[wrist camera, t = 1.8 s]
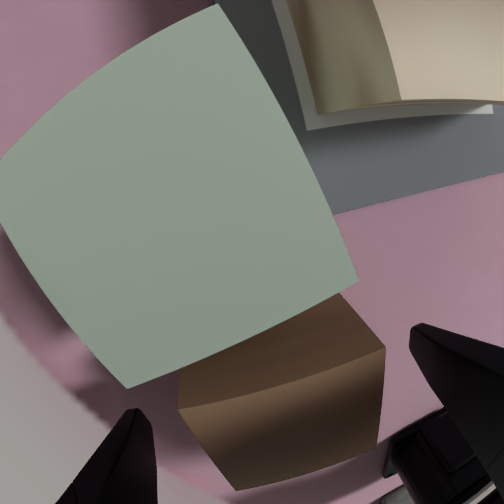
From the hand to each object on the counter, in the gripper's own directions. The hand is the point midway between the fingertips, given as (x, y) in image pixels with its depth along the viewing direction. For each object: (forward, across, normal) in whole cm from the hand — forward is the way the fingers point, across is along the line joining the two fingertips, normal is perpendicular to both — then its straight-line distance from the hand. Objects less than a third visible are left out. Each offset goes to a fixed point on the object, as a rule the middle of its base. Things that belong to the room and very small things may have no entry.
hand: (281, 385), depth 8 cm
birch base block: (+2, -7, -11) cm, 13 cm away
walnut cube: (+2, 0, 0) cm, 2 cm away
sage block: (+2, +1, -6) cm, 6 cm away
